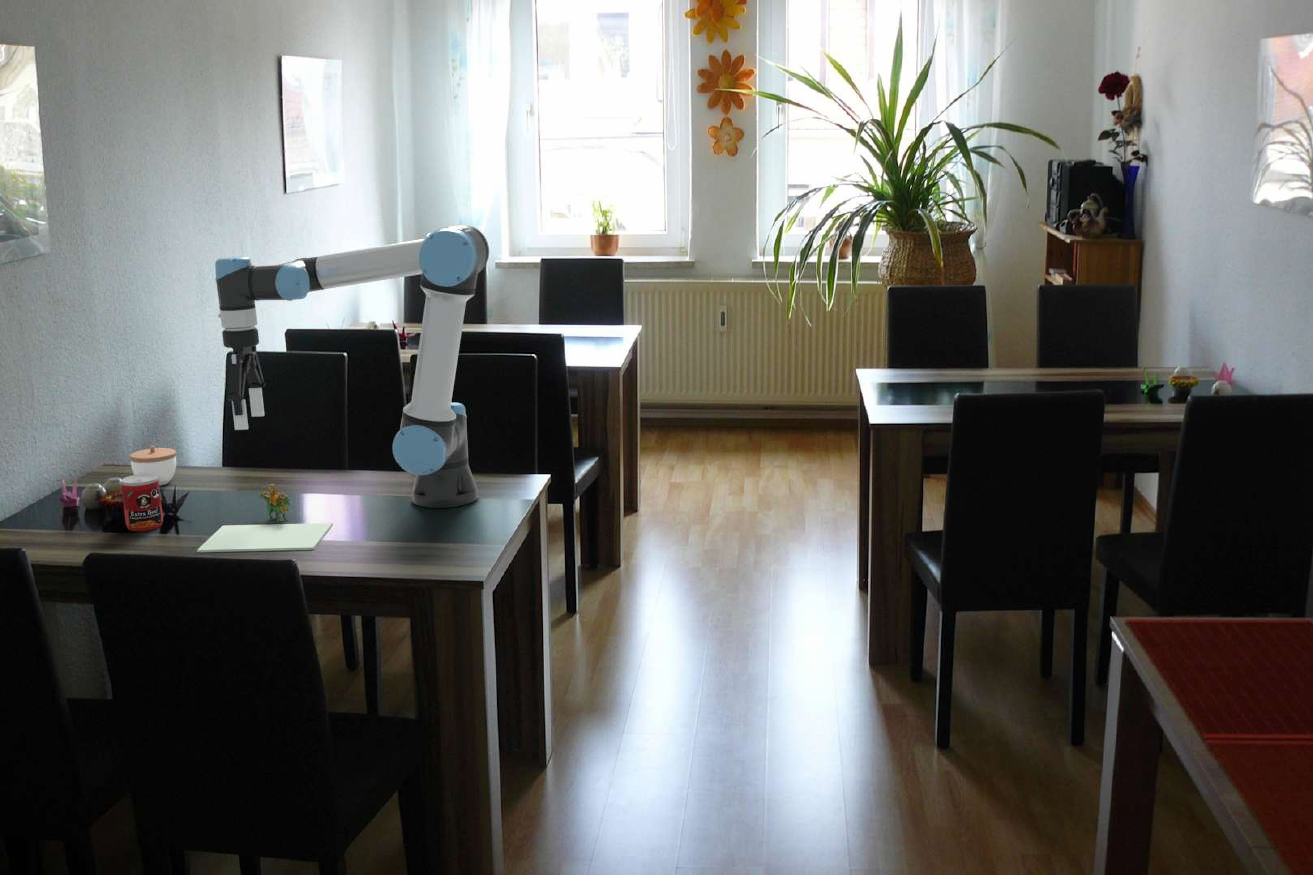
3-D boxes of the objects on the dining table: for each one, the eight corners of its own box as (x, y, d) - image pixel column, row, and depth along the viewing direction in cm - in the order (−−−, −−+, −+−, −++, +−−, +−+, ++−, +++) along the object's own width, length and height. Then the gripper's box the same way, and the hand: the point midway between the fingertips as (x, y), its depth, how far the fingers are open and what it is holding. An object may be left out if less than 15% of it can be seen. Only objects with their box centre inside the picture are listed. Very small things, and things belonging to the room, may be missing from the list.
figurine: (285, 525, 282) (282, 490, 280) (254, 516, 289) (251, 481, 288) (297, 522, 284) (294, 487, 282) (266, 513, 292) (262, 478, 290)
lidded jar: (169, 488, 314) (165, 451, 312) (125, 489, 314) (121, 452, 312) (185, 477, 325) (181, 441, 322) (143, 477, 325) (139, 441, 323)
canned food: (128, 533, 278) (122, 484, 276) (124, 524, 285) (118, 476, 283) (165, 528, 282) (160, 479, 279) (161, 519, 289) (155, 471, 286)
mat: (332, 525, 282) (332, 522, 281) (313, 549, 265) (313, 547, 265) (223, 527, 281) (222, 525, 281) (197, 552, 265) (196, 550, 265)
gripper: (238, 320, 293) (248, 411, 298) (205, 337, 269) (216, 435, 274) (271, 319, 293) (280, 410, 298) (241, 336, 269) (252, 434, 274)
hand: (250, 422), depth 286 cm, fingers open, 13 cm apart
